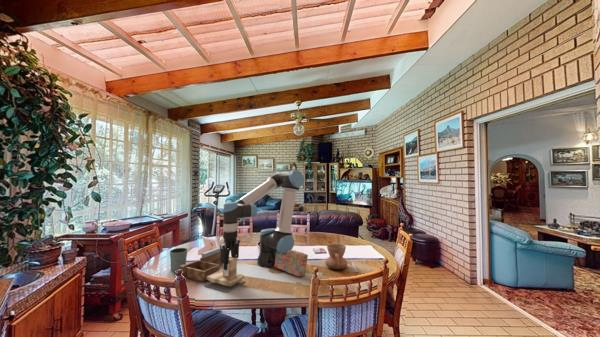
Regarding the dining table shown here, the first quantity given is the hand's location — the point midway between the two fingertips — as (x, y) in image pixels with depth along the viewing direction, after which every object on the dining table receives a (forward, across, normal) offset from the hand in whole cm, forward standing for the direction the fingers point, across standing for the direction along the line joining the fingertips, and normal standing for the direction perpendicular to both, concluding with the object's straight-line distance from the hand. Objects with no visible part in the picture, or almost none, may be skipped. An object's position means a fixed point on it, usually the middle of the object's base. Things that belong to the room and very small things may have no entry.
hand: (229, 273), depth 132 cm
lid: (+4, 0, -3) cm, 5 cm away
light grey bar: (-2, -17, -30) cm, 35 cm away
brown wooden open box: (+6, -9, -24) cm, 26 cm away
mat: (+6, 0, -3) cm, 7 cm away
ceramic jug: (+6, -51, +44) cm, 68 cm away
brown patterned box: (+6, -30, +20) cm, 37 cm away
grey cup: (+6, -3, -45) cm, 46 cm away
